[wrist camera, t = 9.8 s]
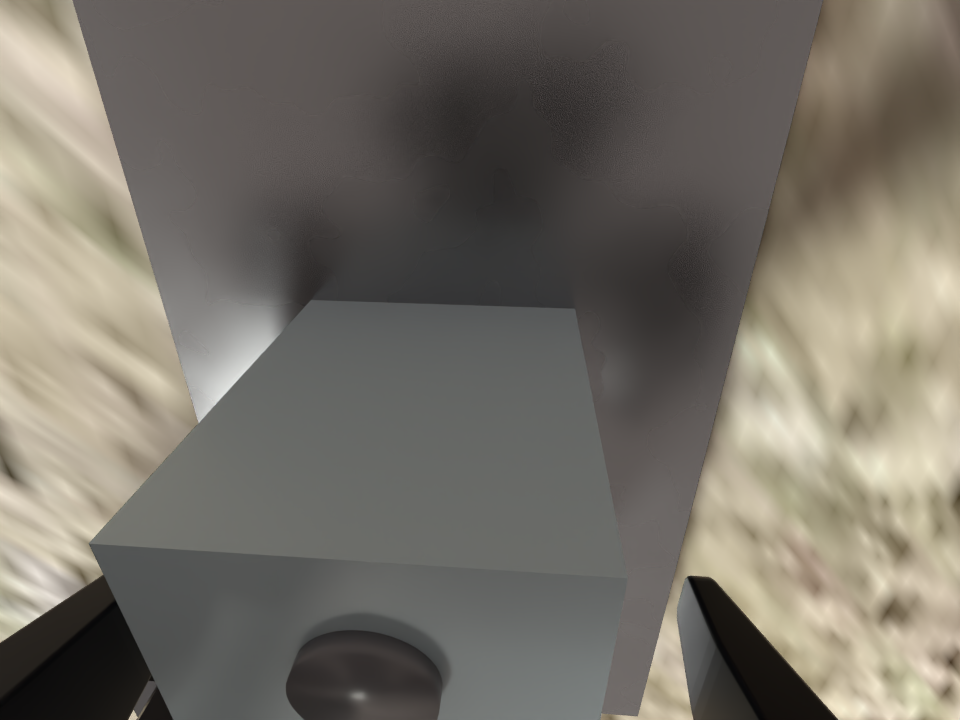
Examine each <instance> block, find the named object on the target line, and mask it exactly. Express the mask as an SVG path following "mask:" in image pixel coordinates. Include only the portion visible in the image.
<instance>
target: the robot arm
mask: <svg viewBox="0 0 960 720" xmlns="http://www.w3.org/2000/svg"><path fill="white" fill-rule="evenodd" d="M677 622H678V628H679V635H680V641H681V647H682V654H683V660H684V666H685V673H686V679H687V685H688V692H689V698H690V704H691V710H692V715H693V719H694V720H838V719H837V718H836V717H835V715H834V714H833V713H832V712H831V711H830V710H829V709H828V708H827V706H826V705H825V704H824V703H823V702H822V701H821V700H820V699H819V697H818V696H817V695H816V694H815V693H814V692H813V691H812V690H811V688H810V687H809V686H808V685H807V684H806V683H805V682H804V680H803V679H802V678H801V677H800V676H799V675H798V674H797V673H796V671H795V670H794V669H793V668H792V667H791V666H790V665H789V664H788V662H787V661H786V660H785V659H784V658H783V657H782V656H781V655H780V653H779V652H778V651H777V650H776V649H775V648H774V647H773V646H772V644H771V643H770V642H769V641H768V640H767V639H766V638H765V637H764V635H763V634H762V633H761V632H760V631H759V630H758V629H757V627H756V626H755V625H754V624H753V623H752V622H751V621H750V620H749V618H748V617H747V616H746V615H745V614H744V613H743V612H742V611H741V609H740V608H739V607H738V606H737V605H736V604H735V603H734V602H733V600H732V599H731V598H730V597H729V596H728V595H727V594H726V593H725V591H724V590H723V589H722V588H721V587H720V586H719V585H718V584H717V582H716V581H715V580H713V579H712V578H710V577H702V576H688V577H687V578H686V579H685V581H684V585H683V588H682V592H681V595H680V599H679V603H678V607H677ZM133 710H134V711H135V713H136V715H137V717H138V718H137V720H173V718H172V716H171V714H170V712H169V709H168V707H167V705H166V703H165V701H164V699H163V697H162V695H161V693H160V691H159V689H158V687H157V685H156V682H155V680H154V678H153V676H152V674H151V672H150V670H149V668H148V666H147V664H146V662H145V660H144V658H143V655H142V653H141V651H140V649H139V647H138V645H137V643H136V641H135V639H134V637H133V635H132V633H131V630H130V628H129V626H128V624H127V622H126V620H125V618H124V616H123V614H122V612H121V610H120V608H119V606H118V603H117V601H116V599H115V597H114V595H113V593H112V591H111V589H110V587H109V585H108V583H107V581H106V578H105V576H104V575H102V576H101V577H99V578H98V579H96V580H95V581H93V582H92V583H90V584H89V585H87V586H85V587H84V588H82V589H81V590H79V591H78V592H76V593H75V594H73V595H72V596H70V597H69V598H67V599H66V600H64V601H63V602H61V603H60V604H58V605H57V606H55V607H54V608H52V609H51V610H49V611H48V612H46V613H45V614H43V615H42V616H40V617H39V618H37V619H36V620H34V621H32V622H31V623H29V624H28V625H26V626H25V627H23V628H22V629H20V630H19V631H17V632H16V633H14V634H13V635H11V636H10V637H8V638H7V639H5V640H4V641H2V642H1V643H0V720H128V719H129V717H130V715H131V713H132V711H133Z"/></svg>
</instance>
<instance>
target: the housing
mask: <svg viewBox="0 0 960 720" xmlns="http://www.w3.org/2000/svg"><path fill="white" fill-rule="evenodd" d="M89 545H90V547H91V549H92V551H93V554H94V556H95V558H96V560H97V562H98V564H99V566H100V568H101V570H102V572H103V574H104V576H105V578H106V581H107V583H108V585H109V587H110V589H111V591H112V593H113V595H114V597H115V599H116V601H117V603H118V606H119V608H120V610H121V612H122V614H123V616H124V618H125V620H126V622H127V624H128V626H129V628H130V630H131V633H132V635H133V637H134V639H135V641H136V643H137V645H138V647H139V649H140V651H141V653H142V655H143V658H144V660H145V662H146V664H147V666H148V668H149V670H150V672H151V674H152V676H153V678H154V680H155V682H156V685H157V687H158V689H159V691H160V693H161V695H162V697H163V699H164V701H165V703H166V705H167V707H168V709H169V712H170V714H171V716H172V718H173V720H600V718H601V713H602V708H603V703H604V697H605V692H606V687H607V682H608V677H609V672H610V667H611V662H612V657H613V652H614V647H615V642H616V637H617V632H618V627H619V621H620V616H621V611H622V606H623V601H624V596H625V591H626V586H627V581H628V576H627V571H626V566H625V561H624V555H623V550H622V545H621V540H620V535H619V530H618V525H617V520H616V515H615V510H614V505H613V500H612V494H611V489H610V484H609V479H608V474H607V469H606V464H605V459H604V454H603V449H602V444H601V438H600V433H599V428H598V423H597V418H596V413H595V408H594V403H593V398H592V393H591V388H590V383H589V377H588V372H587V367H586V362H585V357H584V352H583V347H582V342H581V337H580V332H579V327H578V322H577V316H576V311H575V309H567V308H537V307H507V306H476V305H446V304H416V303H386V302H355V301H325V300H311V301H310V302H309V303H308V304H307V305H306V306H305V307H304V308H303V309H302V310H301V312H300V313H299V314H298V315H297V316H296V317H295V318H294V319H293V320H292V321H291V322H290V324H289V325H288V326H287V327H286V328H285V329H284V330H283V331H282V332H281V333H280V335H279V336H278V337H277V338H276V339H275V340H274V341H273V342H272V343H271V344H270V345H269V347H268V348H267V349H266V350H265V351H264V352H263V353H262V354H261V355H260V356H259V358H258V359H257V360H256V361H255V362H254V363H253V364H252V365H251V366H250V367H249V368H248V370H247V371H246V372H245V373H244V374H243V375H242V376H241V377H240V378H239V379H238V381H237V382H236V383H235V384H234V385H233V386H232V387H231V388H230V389H229V390H228V392H227V393H226V394H225V395H224V396H223V397H222V398H221V399H220V400H219V401H218V402H217V404H216V405H215V406H214V407H213V408H212V409H211V410H210V411H209V412H208V413H207V415H206V416H205V417H204V418H203V419H202V420H201V421H200V422H199V423H198V424H197V425H196V427H195V428H194V429H193V430H192V431H191V432H190V433H189V434H188V435H187V436H186V438H185V439H184V440H183V441H182V442H181V443H180V444H179V445H178V446H177V447H176V448H175V450H174V451H173V452H172V453H171V454H170V455H169V456H168V457H167V458H166V459H165V461H164V462H163V463H162V464H161V465H160V466H159V467H158V468H157V469H156V470H155V472H154V473H153V474H152V475H151V476H150V477H149V478H148V479H147V480H146V481H145V482H144V484H143V485H142V486H141V487H140V488H139V489H138V490H137V491H136V492H135V493H134V495H133V496H132V497H131V498H130V499H129V500H128V501H127V502H126V503H125V504H124V505H123V507H122V508H121V509H120V510H119V511H118V512H117V513H116V514H115V515H114V516H113V518H112V519H111V520H110V521H109V522H108V523H107V524H106V525H105V526H104V527H103V528H102V530H101V531H100V532H99V533H98V534H97V535H96V536H95V537H94V538H93V539H92V541H91V542H90V543H89Z"/></svg>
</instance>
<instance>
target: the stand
mask: <svg viewBox="0 0 960 720" xmlns="http://www.w3.org/2000/svg"><path fill="white" fill-rule="evenodd" d="M73 3H74V7H75V10H76V13H77V17H78V20H79V23H80V27H81V30H82V33H83V37H84V40H85V44H86V47H87V50H88V54H89V57H90V60H91V64H92V67H93V70H94V74H95V77H96V80H97V84H98V87H99V91H100V94H101V97H102V101H103V104H104V107H105V111H106V114H107V117H108V121H109V124H110V128H111V131H112V134H113V138H114V141H115V144H116V148H117V151H118V154H119V158H120V161H121V164H122V168H123V171H124V175H125V178H126V181H127V185H128V188H129V191H130V195H131V198H132V201H133V205H134V208H135V212H136V215H137V218H138V222H139V225H140V228H141V232H142V235H143V238H144V242H145V245H146V248H147V252H148V255H149V259H150V262H151V265H152V269H153V272H154V275H155V279H156V282H157V285H158V289H159V292H160V296H161V299H162V302H163V306H164V309H165V312H166V316H167V319H168V322H169V326H170V329H171V332H172V336H173V339H174V343H175V346H176V349H177V353H178V356H179V359H180V363H181V366H182V369H183V373H184V376H185V380H186V383H187V386H188V390H189V393H190V396H191V400H192V403H193V406H194V410H195V413H196V416H197V420H198V423H199V422H200V421H201V420H202V419H203V418H204V417H205V416H206V415H207V413H208V412H209V411H210V410H211V409H212V408H213V407H214V406H215V405H216V404H217V402H218V401H219V400H220V399H221V398H222V397H223V396H224V395H225V394H226V393H227V392H228V390H229V389H230V388H231V387H232V386H233V385H234V384H235V383H236V382H237V381H238V379H239V378H240V377H241V376H242V375H243V374H244V373H245V372H246V371H247V370H248V368H249V367H250V366H251V365H252V364H253V363H254V362H255V361H256V360H257V359H258V358H259V356H260V355H261V354H262V353H263V352H264V351H265V350H266V349H267V348H268V347H269V345H270V344H271V343H272V342H273V341H274V340H275V339H276V338H277V337H278V336H279V335H280V333H281V332H282V331H283V330H284V329H285V328H286V327H287V326H288V325H289V324H290V322H291V321H292V320H293V319H294V318H295V317H296V316H297V315H298V314H299V313H300V312H301V310H302V309H303V308H304V307H305V306H306V305H307V304H308V303H309V302H310V301H311V300H325V301H355V302H386V303H416V304H446V305H476V306H507V307H537V308H567V309H575V311H576V316H577V322H578V327H579V332H580V337H581V342H582V347H583V352H584V357H585V362H586V367H587V372H588V377H589V383H590V388H591V393H592V398H593V403H594V408H595V413H596V418H597V423H598V428H599V433H600V438H601V444H602V449H603V454H604V459H605V464H606V469H607V474H608V479H609V484H610V489H611V494H612V500H613V505H614V510H615V515H616V520H617V525H618V530H619V535H620V540H621V545H622V550H623V555H624V561H625V566H626V571H627V576H628V581H627V586H626V591H625V596H624V601H623V606H622V611H621V616H620V621H619V627H618V632H617V637H616V642H615V647H614V652H613V657H612V662H611V667H610V672H609V677H608V682H607V687H606V692H605V697H604V703H603V708H602V713H603V714H616V715H628V716H638V713H639V709H640V705H641V701H642V697H643V694H644V690H645V686H646V682H647V678H648V674H649V670H650V667H651V663H652V659H653V655H654V651H655V647H656V643H657V640H658V636H659V632H660V628H661V624H662V620H663V616H664V613H665V609H666V605H667V601H668V597H669V593H670V589H671V586H672V582H673V578H674V574H675V570H676V566H677V562H678V559H679V555H680V551H681V547H682V543H683V539H684V535H685V531H686V528H687V524H688V520H689V516H690V512H691V508H692V504H693V501H694V497H695V493H696V489H697V485H698V481H699V477H700V474H701V470H702V466H703V462H704V458H705V454H706V450H707V447H708V443H709V439H710V435H711V431H712V427H713V423H714V420H715V416H716V412H717V408H718V404H719V400H720V396H721V393H722V389H723V385H724V381H725V377H726V373H727V369H728V366H729V362H730V358H731V354H732V350H733V346H734V342H735V338H736V335H737V331H738V327H739V323H740V319H741V315H742V311H743V308H744V304H745V300H746V296H747V292H748V288H749V284H750V281H751V277H752V273H753V269H754V265H755V261H756V257H757V254H758V250H759V246H760V242H761V238H762V234H763V230H764V227H765V223H766V219H767V215H768V211H769V207H770V203H771V200H772V196H773V192H774V188H775V184H776V180H777V176H778V172H779V169H780V165H781V161H782V157H783V153H784V149H785V145H786V142H787V138H788V134H789V130H790V126H791V122H792V118H793V115H794V111H795V107H796V103H797V99H798V95H799V91H800V88H801V84H802V80H803V76H804V72H805V68H806V64H807V61H808V57H809V53H810V49H811V45H812V41H813V37H814V34H815V30H816V26H817V22H818V18H819V14H820V10H821V6H822V3H823V0H73Z"/></svg>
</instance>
